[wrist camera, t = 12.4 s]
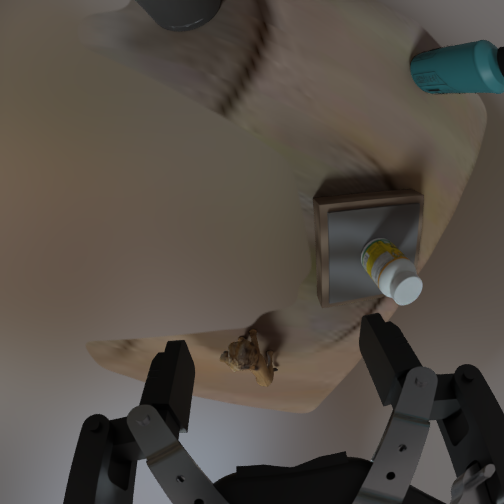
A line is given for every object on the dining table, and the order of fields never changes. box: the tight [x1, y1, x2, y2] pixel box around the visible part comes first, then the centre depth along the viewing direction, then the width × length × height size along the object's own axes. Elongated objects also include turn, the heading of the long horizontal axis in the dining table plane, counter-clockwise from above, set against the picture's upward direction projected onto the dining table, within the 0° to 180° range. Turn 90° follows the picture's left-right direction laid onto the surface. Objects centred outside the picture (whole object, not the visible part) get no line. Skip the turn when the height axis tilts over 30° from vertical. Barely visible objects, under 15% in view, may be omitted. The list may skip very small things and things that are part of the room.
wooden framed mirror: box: [313, 189, 424, 308], centre depth 40 cm, size 16×16×4 cm
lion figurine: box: [220, 329, 278, 387], centre depth 46 cm, size 15×5×9 cm, turn 36°
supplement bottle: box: [361, 238, 422, 305], centre depth 33 cm, size 5×5×10 cm
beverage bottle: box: [410, 40, 504, 94], centre depth 21 cm, size 6×7×20 cm
